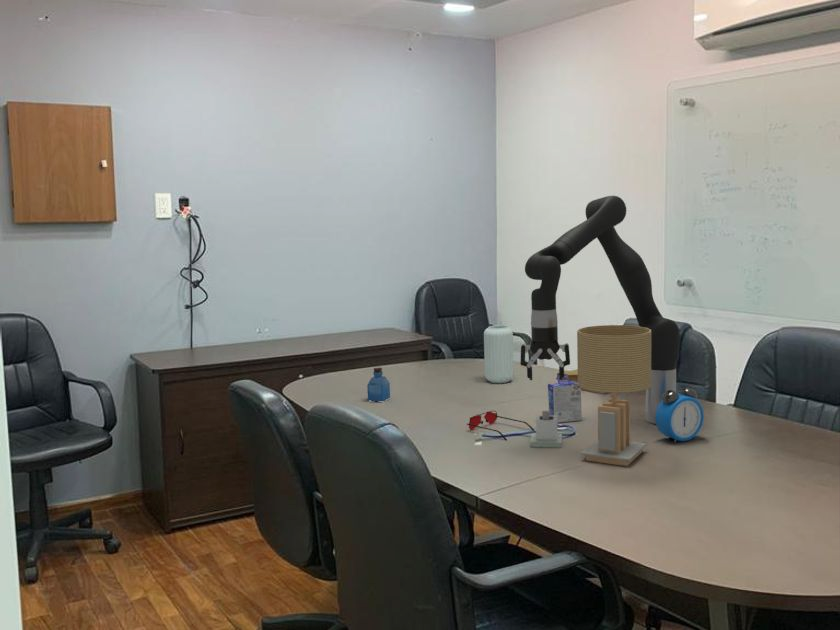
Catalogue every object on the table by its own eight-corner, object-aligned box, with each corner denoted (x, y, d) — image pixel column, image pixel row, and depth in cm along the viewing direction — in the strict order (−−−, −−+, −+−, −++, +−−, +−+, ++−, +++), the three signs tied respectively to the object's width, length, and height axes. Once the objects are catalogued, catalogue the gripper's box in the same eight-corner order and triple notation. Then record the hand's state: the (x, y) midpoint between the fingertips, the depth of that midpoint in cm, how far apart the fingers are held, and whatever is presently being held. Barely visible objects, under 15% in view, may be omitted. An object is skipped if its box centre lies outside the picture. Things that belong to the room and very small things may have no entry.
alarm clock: (668, 445, 229) (668, 394, 227) (654, 439, 235) (654, 389, 233) (704, 438, 234) (704, 388, 232) (689, 433, 240) (690, 384, 238)
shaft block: (561, 438, 239) (561, 407, 238) (561, 447, 230) (561, 415, 229) (531, 438, 241) (531, 407, 239) (530, 447, 232) (529, 415, 231)
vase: (494, 377, 329) (492, 324, 326) (518, 379, 322) (517, 325, 319) (479, 382, 320) (478, 327, 317) (504, 385, 313) (503, 329, 310)
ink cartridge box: (575, 416, 264) (575, 373, 262) (582, 420, 258) (582, 376, 256) (547, 419, 261) (547, 375, 260) (554, 423, 256) (553, 379, 254)
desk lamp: (638, 471, 207) (639, 337, 203) (567, 461, 218) (566, 333, 213) (659, 451, 224) (660, 327, 219) (592, 442, 234) (591, 323, 229)
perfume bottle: (368, 401, 295) (366, 369, 293) (375, 397, 300) (373, 366, 299) (383, 402, 292) (381, 370, 291) (390, 398, 298) (388, 367, 297)
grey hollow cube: (557, 435, 238) (556, 415, 237) (557, 440, 232) (556, 420, 231) (536, 434, 239) (536, 415, 238) (536, 440, 233) (535, 420, 232)
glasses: (495, 423, 261) (495, 408, 260) (535, 431, 249) (535, 416, 248) (466, 432, 251) (465, 416, 251) (506, 441, 239) (506, 425, 239)
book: (633, 389, 301) (633, 373, 300) (604, 396, 291) (604, 380, 290) (584, 379, 321) (584, 364, 320) (554, 385, 311) (554, 370, 311)
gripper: (569, 322, 233) (570, 376, 235) (520, 323, 236) (521, 377, 238) (569, 326, 226) (570, 382, 228) (518, 327, 228) (520, 382, 230)
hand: (545, 379), depth 233 cm, fingers open, 8 cm apart
